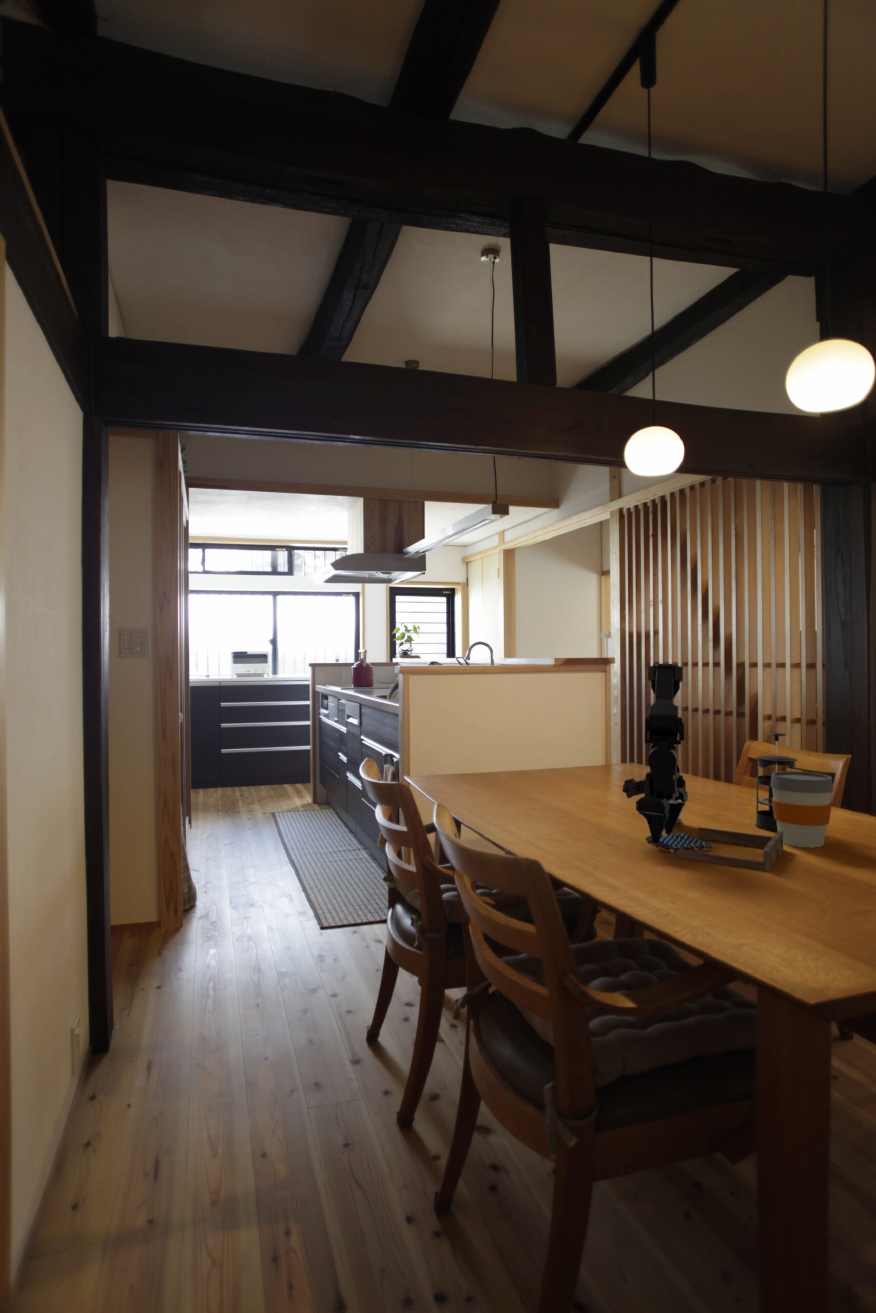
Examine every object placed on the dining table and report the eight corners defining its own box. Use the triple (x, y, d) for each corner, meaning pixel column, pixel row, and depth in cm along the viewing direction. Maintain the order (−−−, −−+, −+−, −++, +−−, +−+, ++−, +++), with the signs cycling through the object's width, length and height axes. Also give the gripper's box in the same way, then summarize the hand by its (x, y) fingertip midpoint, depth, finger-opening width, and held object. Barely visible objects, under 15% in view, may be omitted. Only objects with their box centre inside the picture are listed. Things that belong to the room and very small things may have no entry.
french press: (801, 834, 170) (802, 735, 170) (758, 831, 172) (758, 734, 172) (793, 823, 181) (793, 730, 181) (752, 820, 184) (752, 729, 184)
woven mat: (713, 852, 155) (713, 843, 155) (670, 856, 152) (670, 846, 152) (685, 840, 165) (685, 831, 165) (643, 843, 163) (643, 834, 163)
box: (699, 837, 166) (699, 820, 166) (783, 849, 156) (783, 830, 156) (676, 857, 150) (676, 837, 150) (768, 871, 140) (768, 850, 140)
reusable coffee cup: (782, 832, 171) (782, 769, 171) (841, 842, 162) (841, 775, 162) (761, 842, 162) (761, 775, 162) (821, 853, 153) (821, 782, 153)
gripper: (640, 760, 173) (640, 825, 173) (612, 769, 158) (612, 841, 158) (688, 764, 167) (687, 832, 167) (664, 775, 151) (663, 849, 151)
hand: (662, 838), depth 161 cm, fingers open, 9 cm apart
